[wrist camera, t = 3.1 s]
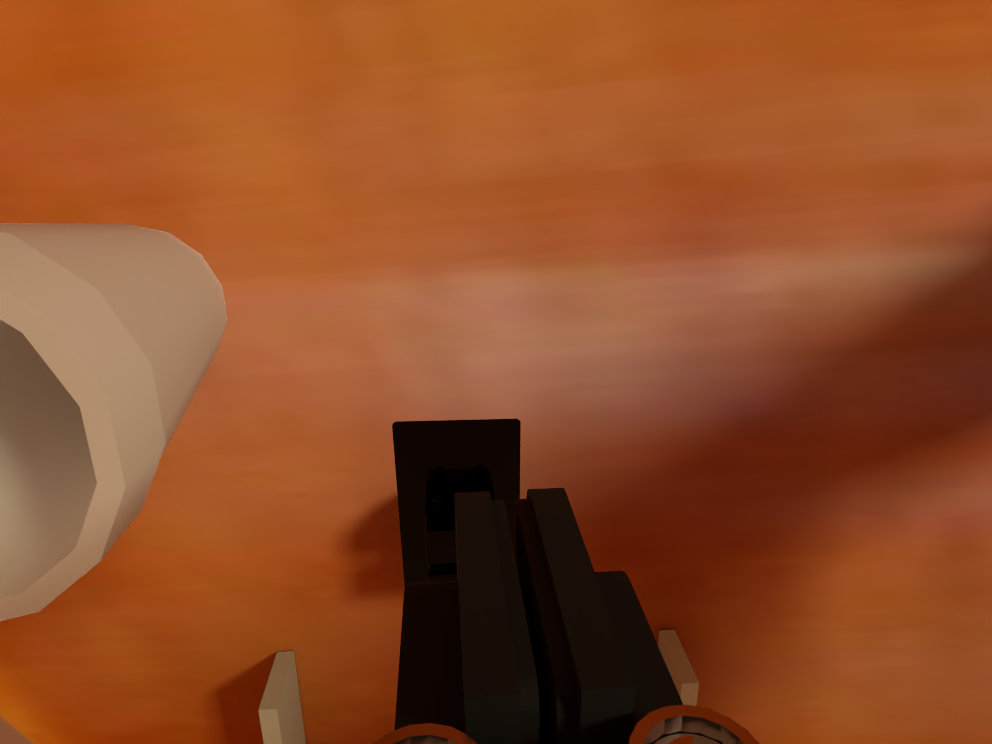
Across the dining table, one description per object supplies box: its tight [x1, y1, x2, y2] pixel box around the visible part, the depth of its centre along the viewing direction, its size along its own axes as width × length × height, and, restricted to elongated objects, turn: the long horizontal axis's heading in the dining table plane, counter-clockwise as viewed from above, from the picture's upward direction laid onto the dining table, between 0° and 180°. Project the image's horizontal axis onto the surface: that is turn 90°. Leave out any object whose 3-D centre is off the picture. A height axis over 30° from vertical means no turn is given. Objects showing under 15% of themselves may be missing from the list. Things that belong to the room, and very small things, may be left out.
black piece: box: [392, 419, 520, 584], centre depth 29 cm, size 12×7×5 cm, turn 1°
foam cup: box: [0, 223, 227, 621], centre depth 21 cm, size 10×9×13 cm
